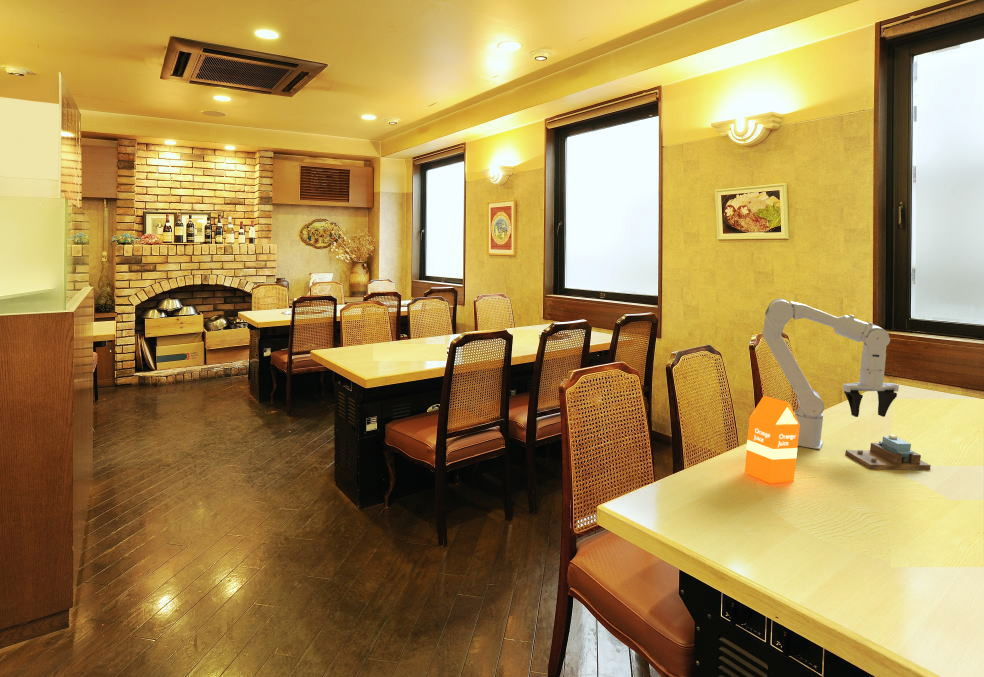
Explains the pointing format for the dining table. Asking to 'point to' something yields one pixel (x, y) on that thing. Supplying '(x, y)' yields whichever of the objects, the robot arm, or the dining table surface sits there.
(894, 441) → the block
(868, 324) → the robot arm
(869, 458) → the board
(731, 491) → the dining table surface
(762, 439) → the orange juice
